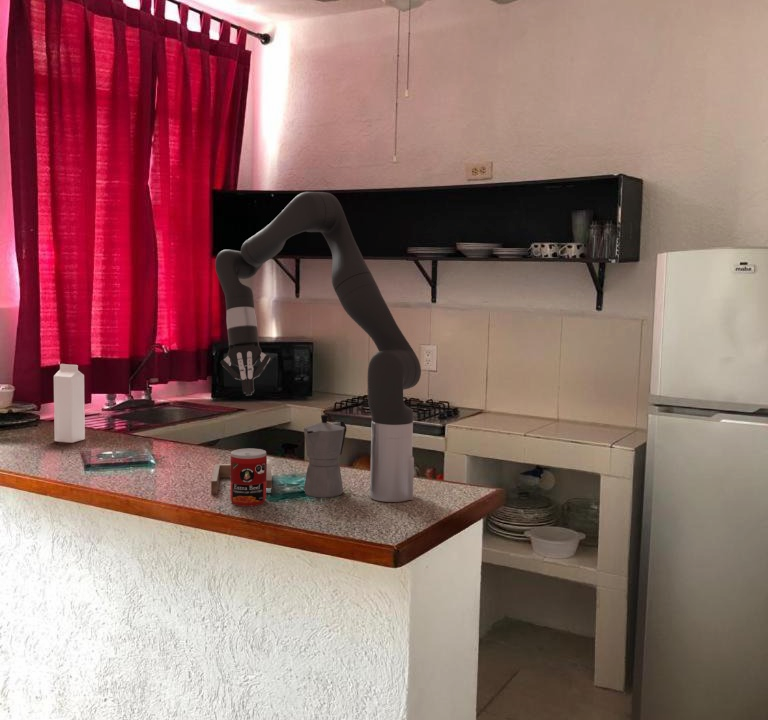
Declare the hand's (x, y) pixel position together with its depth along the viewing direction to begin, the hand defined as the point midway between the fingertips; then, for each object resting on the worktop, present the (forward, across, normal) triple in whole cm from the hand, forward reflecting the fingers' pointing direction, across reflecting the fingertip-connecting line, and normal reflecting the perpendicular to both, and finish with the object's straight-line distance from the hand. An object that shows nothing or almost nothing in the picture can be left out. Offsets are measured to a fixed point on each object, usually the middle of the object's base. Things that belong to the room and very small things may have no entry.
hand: (248, 394), depth 217 cm
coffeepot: (+26, +16, -17) cm, 35 cm away
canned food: (+26, 0, -26) cm, 37 cm away
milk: (+3, -55, +39) cm, 67 cm away
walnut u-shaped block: (+22, -3, -12) cm, 25 cm away
